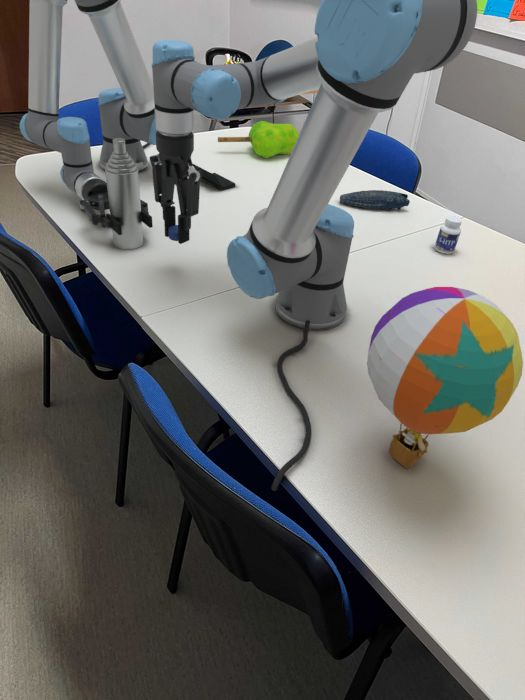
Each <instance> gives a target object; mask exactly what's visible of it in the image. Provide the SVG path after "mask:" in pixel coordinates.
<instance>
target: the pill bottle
mask: <svg viewBox="0 0 525 700" xmlns="http://www.w3.org/2000/svg"><path fill="white" fill-rule="evenodd" d="M462 222H463V219H461V218H460V217H458V216H455V215H448V216H446V218H445V220H444V223H443V224H442V225H440V228H439V231H438V234H437V237H436V240H435V243H434V250H435V251H437V252H439V253H441V254H447V255H449V254H453V253H454V252H455V250H456V247H457V244H458V242H459V239H460V236H461V233H462V229H461V225H462Z"/></svg>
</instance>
